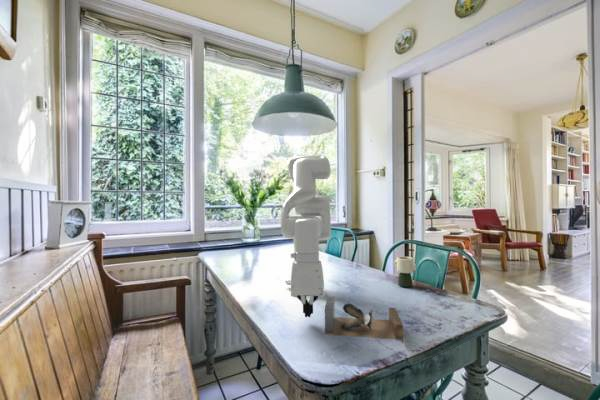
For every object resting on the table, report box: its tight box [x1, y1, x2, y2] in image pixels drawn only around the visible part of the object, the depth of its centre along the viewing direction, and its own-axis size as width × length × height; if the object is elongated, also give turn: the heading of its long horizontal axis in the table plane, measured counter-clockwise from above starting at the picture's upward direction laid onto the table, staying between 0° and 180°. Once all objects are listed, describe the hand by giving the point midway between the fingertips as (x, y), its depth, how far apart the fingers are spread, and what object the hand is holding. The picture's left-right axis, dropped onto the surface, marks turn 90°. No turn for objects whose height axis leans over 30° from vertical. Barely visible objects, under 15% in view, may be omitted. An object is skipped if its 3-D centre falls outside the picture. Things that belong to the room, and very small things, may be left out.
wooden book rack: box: [323, 307, 404, 344], centre depth 84 cm, size 22×12×6 cm, turn 80°
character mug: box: [394, 256, 417, 287], centre depth 127 cm, size 11×7×13 cm, turn 35°
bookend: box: [324, 296, 336, 333], centre depth 86 cm, size 2×10×7 cm, turn 170°
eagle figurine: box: [341, 303, 374, 330], centre depth 84 cm, size 8×7×9 cm
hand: (308, 315), depth 87 cm, fingers closed
